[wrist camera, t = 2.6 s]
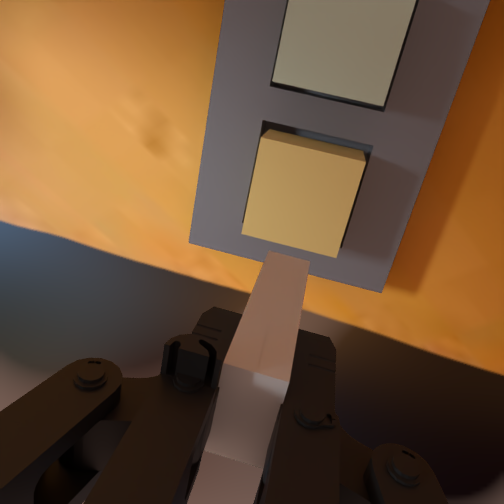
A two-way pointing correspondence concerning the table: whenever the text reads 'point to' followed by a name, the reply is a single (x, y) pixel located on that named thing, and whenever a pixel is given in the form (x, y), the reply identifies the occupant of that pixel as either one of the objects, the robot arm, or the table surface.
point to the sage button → (343, 46)
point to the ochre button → (302, 192)
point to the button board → (329, 132)
